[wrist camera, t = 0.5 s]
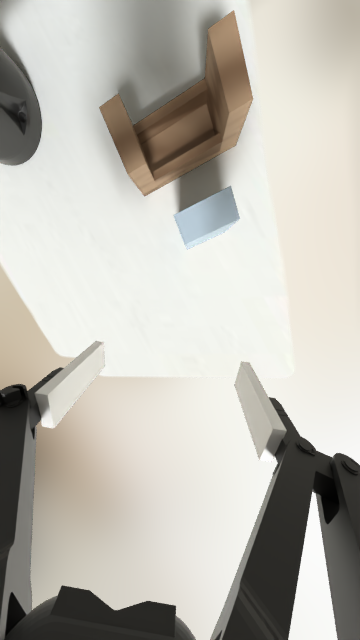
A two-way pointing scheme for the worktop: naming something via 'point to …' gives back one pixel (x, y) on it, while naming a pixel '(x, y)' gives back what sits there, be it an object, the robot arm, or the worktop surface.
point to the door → (207, 218)
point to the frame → (187, 117)
